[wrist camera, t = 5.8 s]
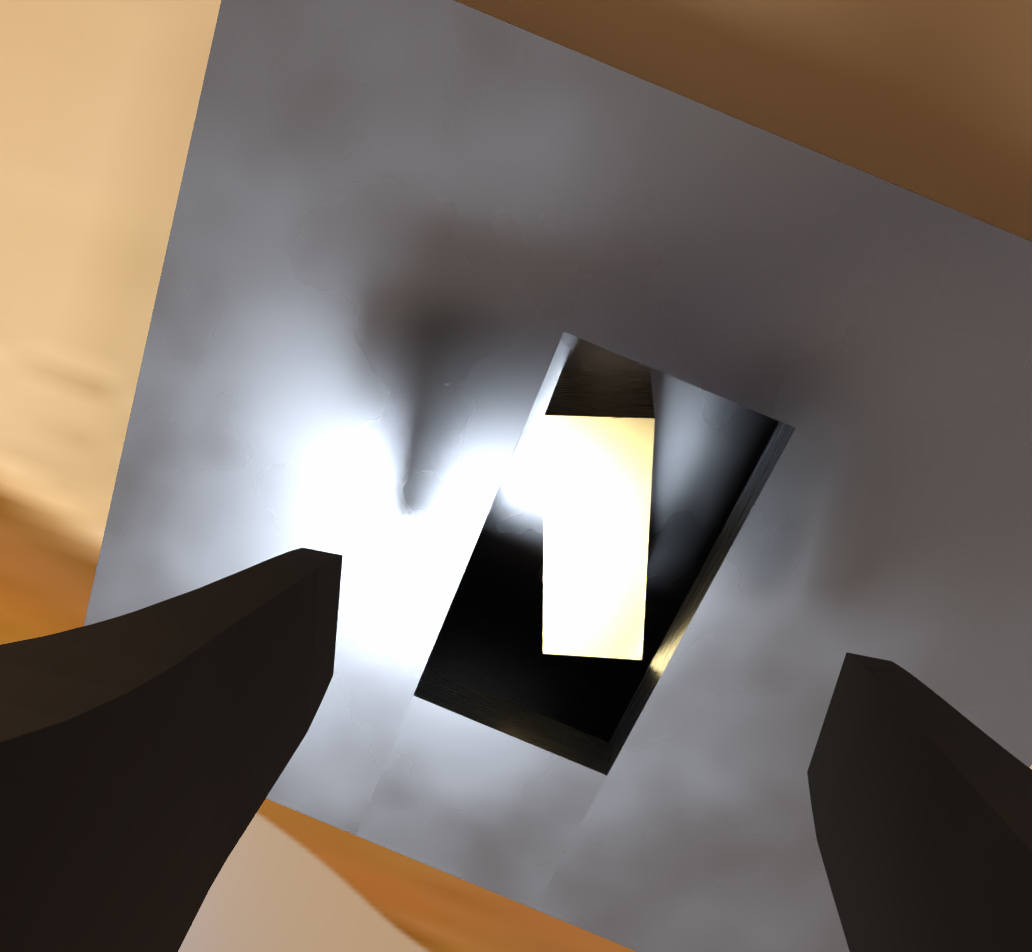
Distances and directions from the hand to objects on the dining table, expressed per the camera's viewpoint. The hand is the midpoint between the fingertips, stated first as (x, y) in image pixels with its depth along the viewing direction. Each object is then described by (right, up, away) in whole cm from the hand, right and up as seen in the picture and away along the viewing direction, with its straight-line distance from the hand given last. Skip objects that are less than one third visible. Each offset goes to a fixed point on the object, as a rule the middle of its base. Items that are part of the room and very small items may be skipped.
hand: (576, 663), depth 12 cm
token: (+1, +3, +8) cm, 8 cm away
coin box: (+1, +3, +8) cm, 9 cm away
